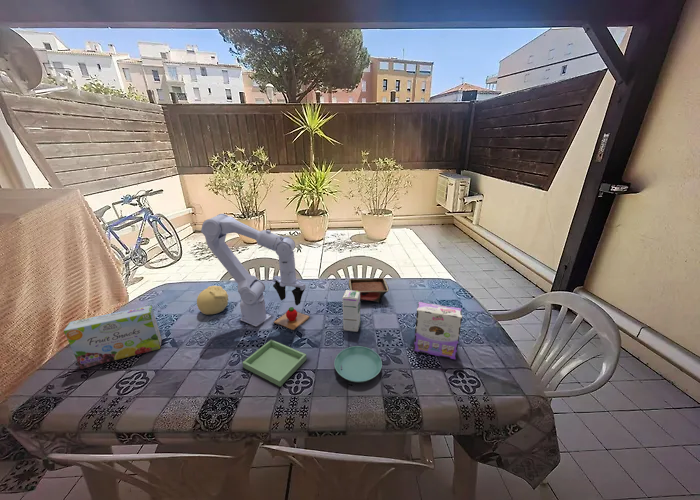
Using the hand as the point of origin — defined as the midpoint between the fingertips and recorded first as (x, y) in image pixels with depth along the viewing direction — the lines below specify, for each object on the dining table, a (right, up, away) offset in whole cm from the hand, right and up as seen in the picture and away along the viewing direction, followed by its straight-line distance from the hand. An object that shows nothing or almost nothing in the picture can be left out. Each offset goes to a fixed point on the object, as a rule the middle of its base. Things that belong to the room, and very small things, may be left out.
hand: (290, 301), depth 106 cm
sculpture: (-35, -6, +10) cm, 36 cm away
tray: (0, -16, -20) cm, 26 cm away
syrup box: (+24, -10, -1) cm, 26 cm away
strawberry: (0, -7, +2) cm, 8 cm away
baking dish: (+32, -2, +19) cm, 37 cm away
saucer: (+26, -17, -21) cm, 38 cm away
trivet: (0, -8, +3) cm, 9 cm away
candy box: (+52, -14, -14) cm, 56 cm away
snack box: (-53, -15, -15) cm, 57 cm away
